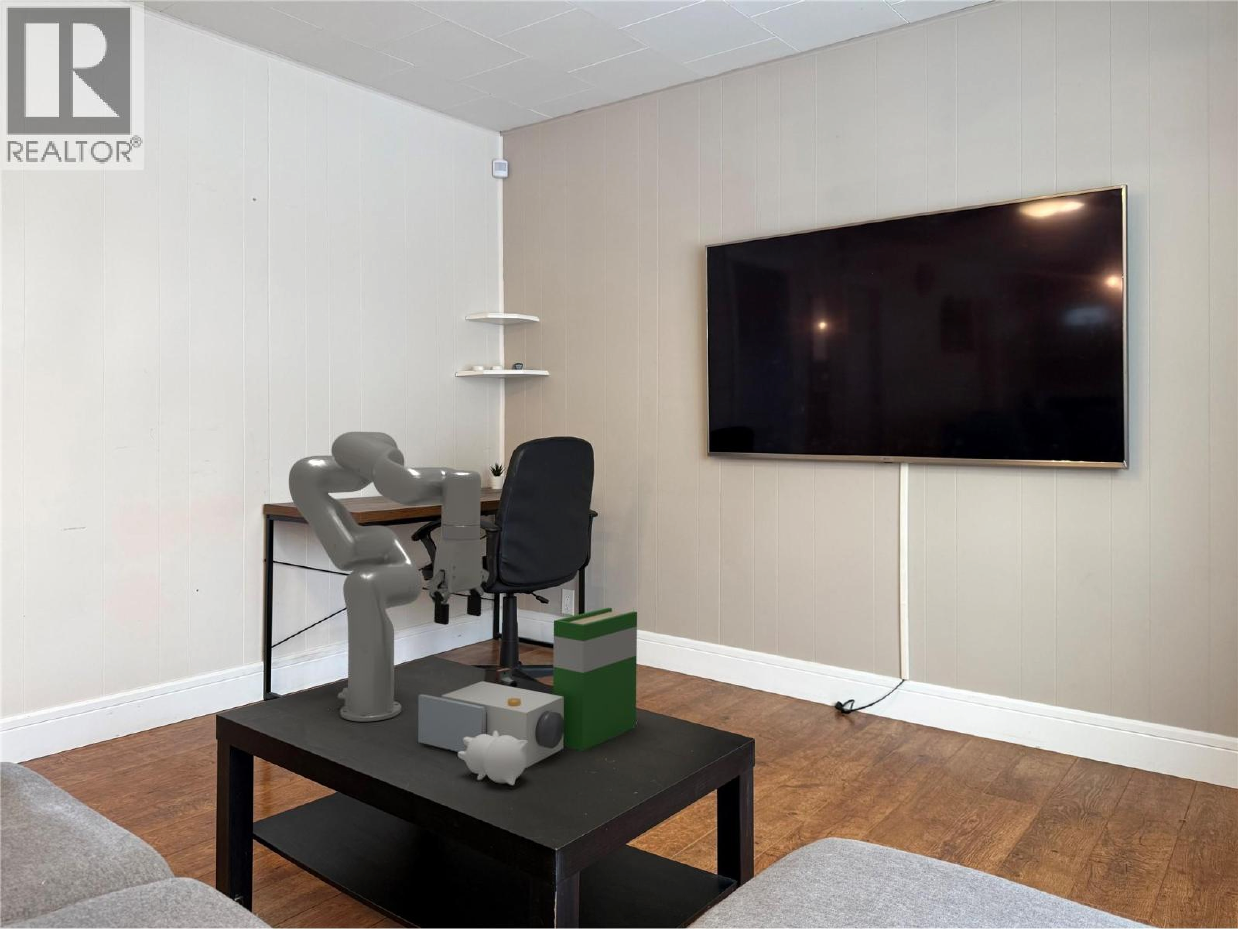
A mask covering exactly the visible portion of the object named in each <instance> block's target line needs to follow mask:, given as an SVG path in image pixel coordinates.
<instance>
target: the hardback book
mask: <svg viewBox="0 0 1238 929" xmlns="http://www.w3.org/2000/svg"><path fill="white" fill-rule="evenodd" d="M637 637H638V611H630V612H626V613H619V612H613V608H612V607H605V608H601V609H596V610H592V611H589V612H584V613H581V614H577V615H573V616H572V615H571V616H568V617H563V618H560V619H559V618H558V619H554V620H553V658H552V659H553V662H552V663H553V667H552V668H553V671H552V673H553V674H552V678H553V679H552V681H553V682H552V683H553V684H552V695H557V696H563V697H564V731H563V747H565V746H566V747H565V748H569V749H572V750H573V749H574V750H576V749H577V750H576V751H581V752H584V751H586V750H588V748H589V749H591V748H593V747H596V746H598V745H599V743H600V744H602V743H604V741H605V740H607V739H609V740H611V739H613V738H612V737H614V736H616V737H617V736H620V735H622V734H621V733H623V732H625V733H627V732H629V731H628V730H629V729H632V728H633V727H635V726H636V727H637V724H636V723H637V667H638V666H637V662H638V661H637V658H638V656H637V653H638V652H637V650H638V649H637V646H638V642H637V641H638V638H637ZM632 730H633V729H632ZM626 731H627V732H626ZM619 734H620V735H619ZM623 734H624V733H623ZM610 738H611V739H610ZM614 738H615V737H614ZM607 741H608V740H607ZM605 742H606V741H605ZM597 744H598V745H597ZM592 746H593V747H592ZM590 747H591V748H590ZM585 749H586V750H585Z"/></svg>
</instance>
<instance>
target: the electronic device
mask: <svg viewBox="0 0 1238 929" xmlns="http://www.w3.org/2000/svg"><path fill="white" fill-rule="evenodd" d="M512 673H513V672H512V669H511V668H506V667H490V668H489V667H488V668H486V669H485V670H484V677H483V678H484V679H483V682H488V683H493V684H499V685H504V686H509V687H515V688H518V682H517V681H516V680H514V679H513V674H512Z"/></svg>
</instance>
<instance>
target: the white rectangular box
mask: <svg viewBox="0 0 1238 929" xmlns="http://www.w3.org/2000/svg"><path fill="white" fill-rule="evenodd" d="M441 698H443V699H448V700H453V701H458V702H463V703H468V704H472V705H477V706H482V707H486V734H488V735H490V736H493V733H494V731H497V732H498V734H499V737H500V736H503V735H509V736H512V737H515V738H516V739H518V740H526V741H528V745H527V748H526V751H525V752H526V757H527V760H526V765H525V768H524V769H526V768H529V767H532V766H533V765H534V764H536V763H538V762H541V761H542V760H545V759H546V758H548V757H550V756H552V755H554V754H555V753H558V752H559V751H561V749H562V750H563V749H564V746H563V731H564V697H563V696H557V695H553V693H552V694H550V693H547V692H546V693H545V692H542V691H541V692H540V691H535V690H530V689H524V688H519V687H517V688H515V687H509V686H504V685H499V684H493V683H488V682H484V680H483V681H478V682H476V683H473V684H470V685H468V686H464V687H462V688H460V689H457V690H454V691H451V692H447V693H445V694H442V695H441ZM444 749H445V750H447V749H446V748H444Z"/></svg>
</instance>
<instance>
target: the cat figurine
mask: <svg viewBox="0 0 1238 929" xmlns="http://www.w3.org/2000/svg"><path fill="white" fill-rule="evenodd" d="M463 742H464V744H465V745H467V746H468V747H467V750H466V751H460V752H458V751H457V756H458V758H459V759H460V760H463V761H464V762H465V763H466V766H467V768H468V769H469V770H470V771H471V772H472V773H474V774H475V775H476V774H477V778H476V779H477V781H481V780H483V779H484V778H485V777H488V778H489V779H490V780H491V781H493V782H495V783H497V784H508V785H511V786H514V785H515V782H516V779H518V777H520V776H521V775H522V774H523V772H524V770H525V769H526V768H525V765H526V760H527V757H526V752H525V751H526V748H527V745H528V741H526V740H518V739H516V738H515V737H512V736H509V735H503V736H500V737H499V734H498V732H497V731H494V733H493V736H490V735H488V734H481V735H478V736H476V737H475V738H471V737H465V738H463Z"/></svg>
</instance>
